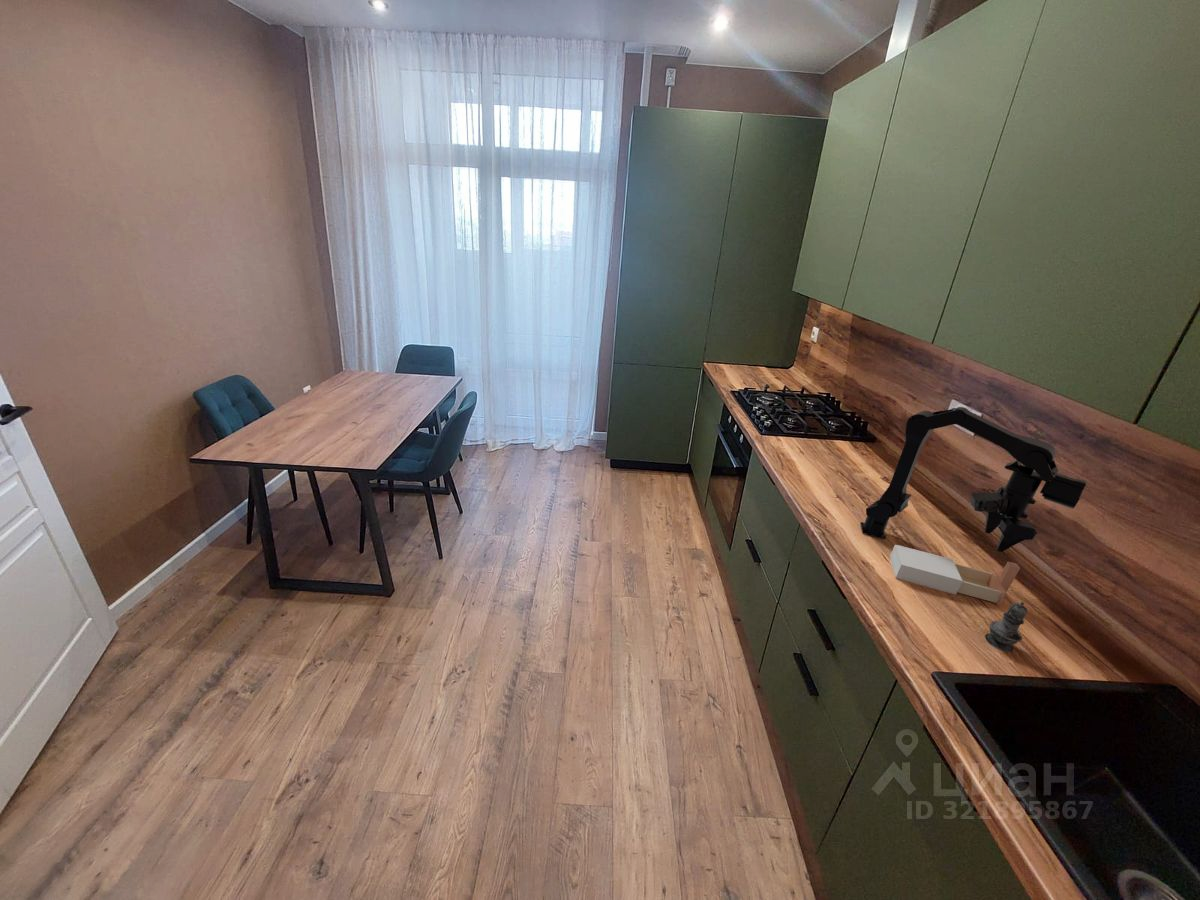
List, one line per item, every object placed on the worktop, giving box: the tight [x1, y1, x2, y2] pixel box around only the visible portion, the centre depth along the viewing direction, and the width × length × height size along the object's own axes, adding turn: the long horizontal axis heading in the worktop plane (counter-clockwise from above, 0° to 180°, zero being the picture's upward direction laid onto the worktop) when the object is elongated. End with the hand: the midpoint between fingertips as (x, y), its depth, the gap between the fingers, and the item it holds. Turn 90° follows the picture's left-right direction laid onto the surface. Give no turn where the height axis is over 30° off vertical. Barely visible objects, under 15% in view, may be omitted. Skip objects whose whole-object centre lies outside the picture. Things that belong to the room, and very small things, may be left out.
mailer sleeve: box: [889, 544, 963, 596], centre depth 129 cm, size 10×14×4 cm
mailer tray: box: [954, 561, 1021, 606], centre depth 124 cm, size 10×16×10 cm, turn 69°
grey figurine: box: [984, 601, 1028, 653], centre depth 106 cm, size 6×6×12 cm
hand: (992, 541), depth 125 cm, fingers open, 9 cm apart
